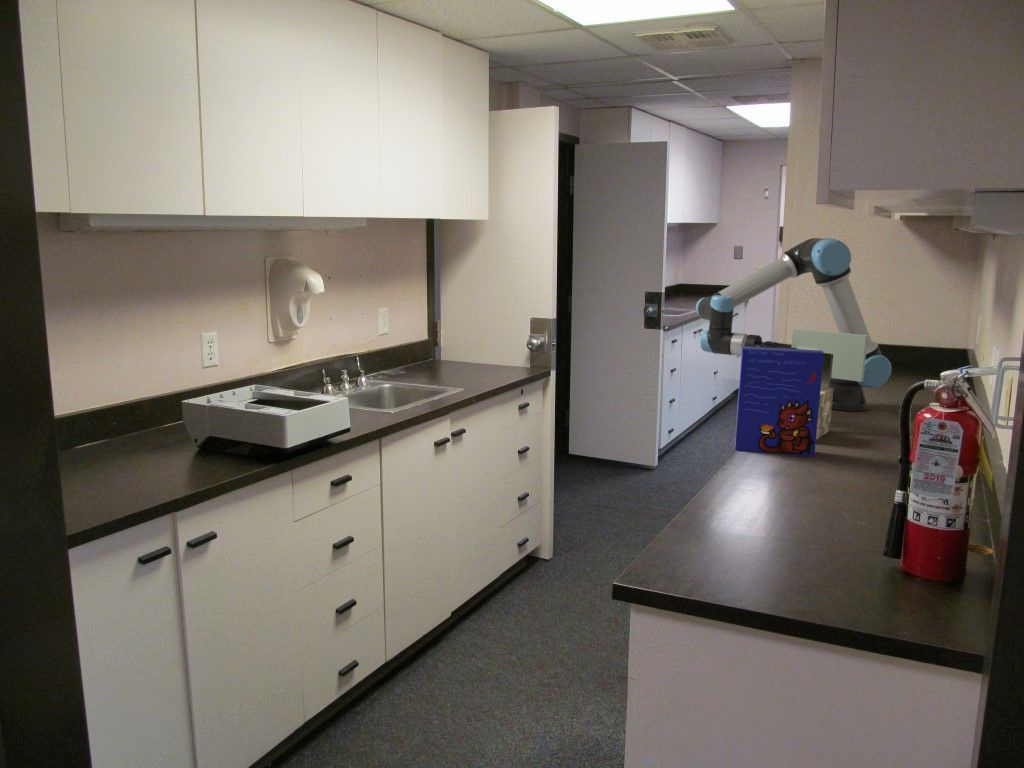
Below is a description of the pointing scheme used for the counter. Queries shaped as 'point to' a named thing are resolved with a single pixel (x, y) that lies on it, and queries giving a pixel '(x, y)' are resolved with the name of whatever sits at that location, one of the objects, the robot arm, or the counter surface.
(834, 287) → the robot arm
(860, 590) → the counter surface
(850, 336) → the sage board
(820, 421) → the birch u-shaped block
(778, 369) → the cereal box
